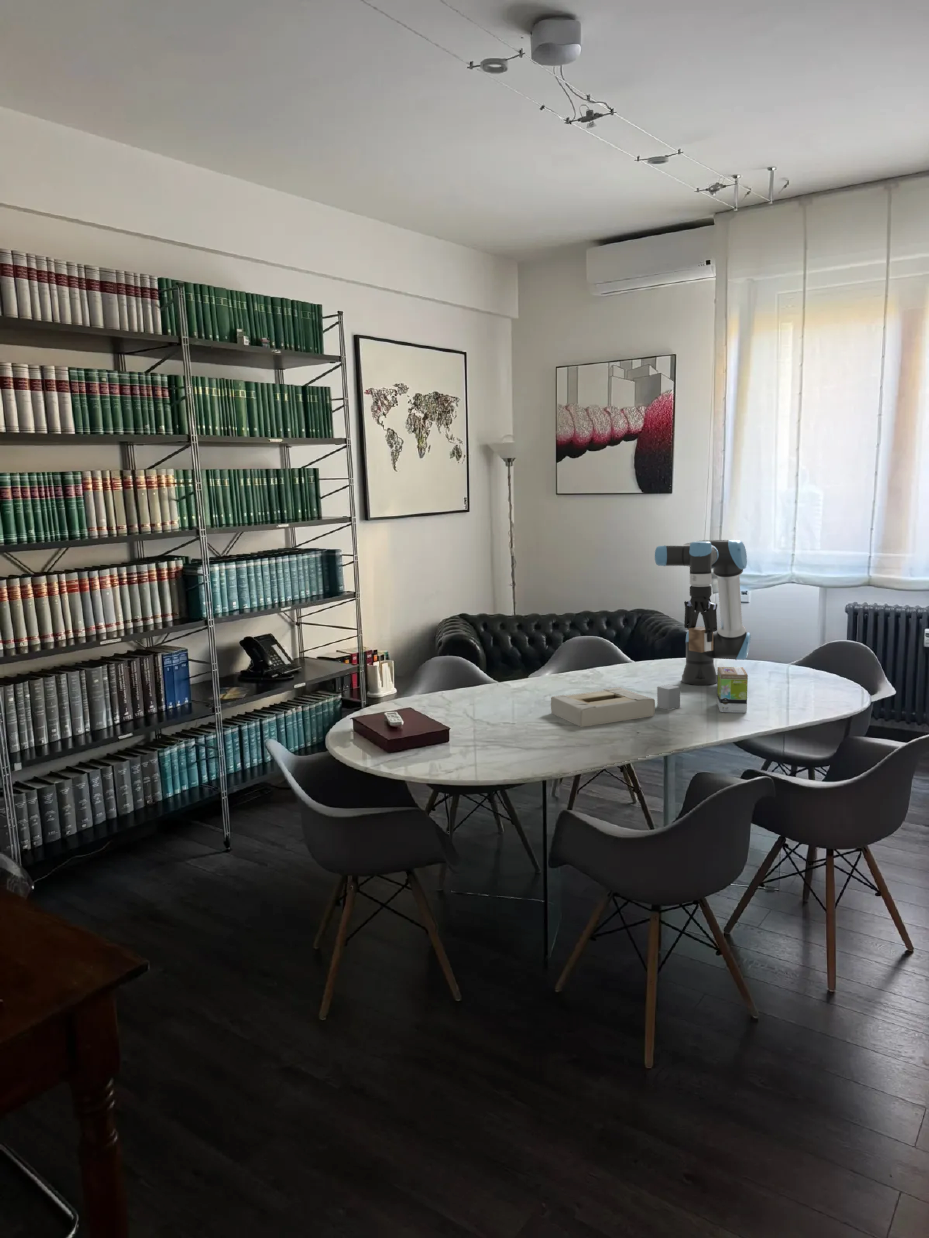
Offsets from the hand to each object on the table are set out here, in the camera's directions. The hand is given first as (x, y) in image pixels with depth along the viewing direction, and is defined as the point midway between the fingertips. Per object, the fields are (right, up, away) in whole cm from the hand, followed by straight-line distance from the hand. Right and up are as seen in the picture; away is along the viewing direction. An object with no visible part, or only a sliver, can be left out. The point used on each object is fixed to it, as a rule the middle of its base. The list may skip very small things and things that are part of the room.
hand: (700, 649), depth 307 cm
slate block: (-6, -23, +24) cm, 34 cm away
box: (-33, -26, +16) cm, 45 cm away
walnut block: (0, 0, 0) cm, 0 cm away
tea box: (+17, -23, +19) cm, 35 cm away
